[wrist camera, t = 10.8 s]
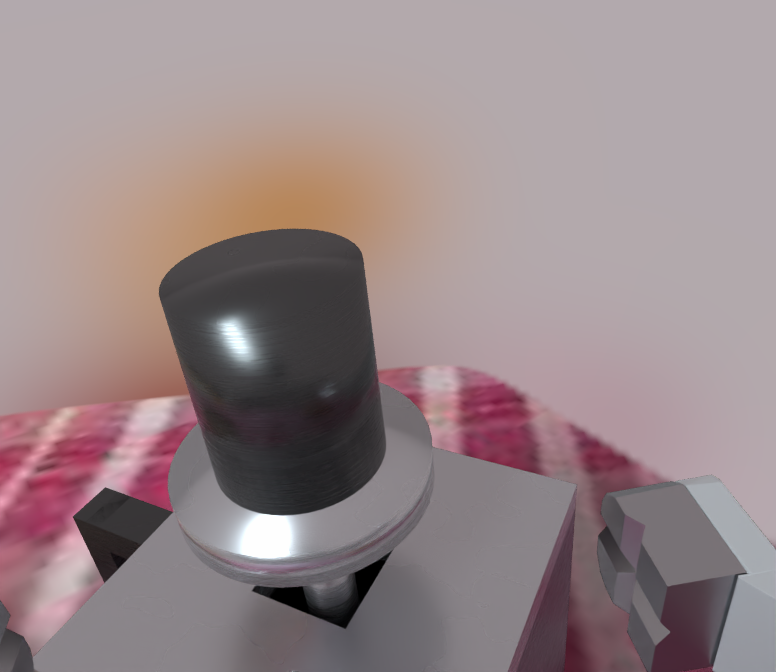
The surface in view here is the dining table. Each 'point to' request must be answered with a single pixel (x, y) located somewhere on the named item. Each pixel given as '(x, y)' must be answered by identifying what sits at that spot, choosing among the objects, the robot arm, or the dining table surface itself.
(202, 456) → the plunger
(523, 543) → the matte gray cube
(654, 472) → the dining table surface
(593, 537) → the dining table surface
